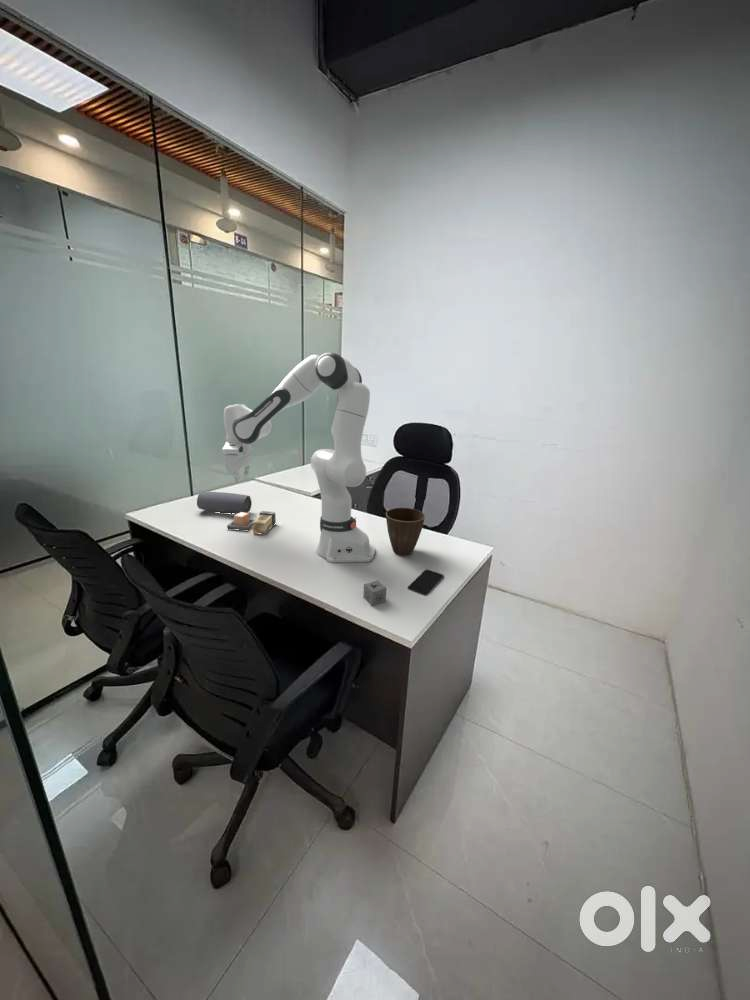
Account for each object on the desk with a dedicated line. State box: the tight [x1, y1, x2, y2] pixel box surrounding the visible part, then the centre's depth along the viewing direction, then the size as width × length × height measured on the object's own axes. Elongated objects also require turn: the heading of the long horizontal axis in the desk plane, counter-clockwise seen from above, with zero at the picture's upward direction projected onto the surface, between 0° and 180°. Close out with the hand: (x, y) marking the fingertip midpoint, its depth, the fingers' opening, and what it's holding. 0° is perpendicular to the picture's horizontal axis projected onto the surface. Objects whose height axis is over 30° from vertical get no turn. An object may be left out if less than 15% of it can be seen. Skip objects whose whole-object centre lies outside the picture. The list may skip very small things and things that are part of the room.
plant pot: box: [385, 507, 426, 557], centre depth 142 cm, size 15×15×16 cm
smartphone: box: [407, 569, 445, 597], centre depth 124 cm, size 7×1×15 cm
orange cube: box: [233, 512, 250, 526], centre depth 158 cm, size 5×4×5 cm
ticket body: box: [252, 510, 277, 535], centre depth 157 cm, size 6×12×6 cm, turn 176°
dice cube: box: [363, 580, 388, 607], centre depth 112 cm, size 5×5×5 cm
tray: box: [226, 518, 256, 531], centre depth 159 cm, size 9×9×2 cm
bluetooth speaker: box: [196, 491, 252, 514], centre depth 172 cm, size 23×9×10 cm, turn 84°
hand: (242, 478), depth 152 cm, fingers open, 8 cm apart
